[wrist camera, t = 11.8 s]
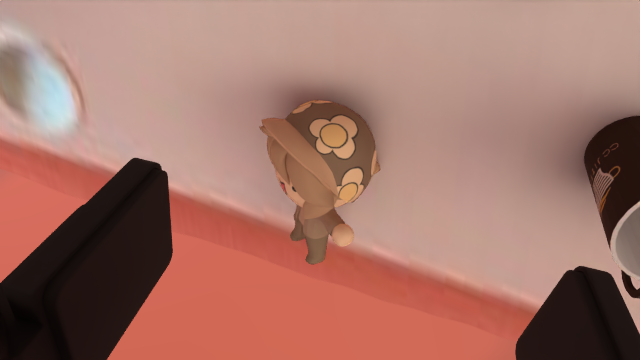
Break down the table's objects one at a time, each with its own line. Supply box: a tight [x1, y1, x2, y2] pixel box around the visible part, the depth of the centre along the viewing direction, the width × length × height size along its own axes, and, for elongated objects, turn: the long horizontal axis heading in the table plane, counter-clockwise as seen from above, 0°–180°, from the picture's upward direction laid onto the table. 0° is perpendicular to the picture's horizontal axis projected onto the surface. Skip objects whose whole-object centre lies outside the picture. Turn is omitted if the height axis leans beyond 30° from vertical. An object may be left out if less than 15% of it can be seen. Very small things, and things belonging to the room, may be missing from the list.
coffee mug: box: [584, 116, 640, 298], centre depth 32 cm, size 12×9×10 cm
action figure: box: [259, 100, 380, 265], centre depth 38 cm, size 10×11×15 cm
